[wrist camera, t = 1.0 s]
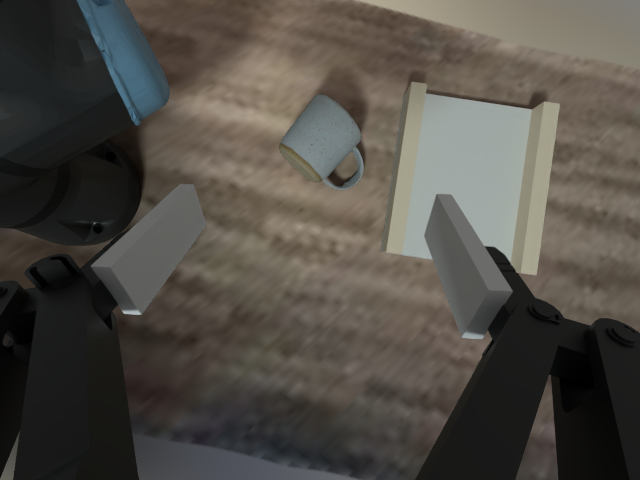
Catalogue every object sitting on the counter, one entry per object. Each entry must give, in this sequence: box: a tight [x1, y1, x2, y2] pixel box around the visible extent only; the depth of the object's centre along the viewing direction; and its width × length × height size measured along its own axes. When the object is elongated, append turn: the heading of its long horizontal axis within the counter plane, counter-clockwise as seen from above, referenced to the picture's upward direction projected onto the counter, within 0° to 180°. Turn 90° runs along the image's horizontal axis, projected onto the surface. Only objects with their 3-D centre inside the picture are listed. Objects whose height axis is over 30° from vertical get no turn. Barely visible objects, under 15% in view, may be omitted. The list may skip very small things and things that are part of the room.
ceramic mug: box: [279, 94, 364, 190], centre depth 34 cm, size 11×8×8 cm
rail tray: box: [381, 82, 560, 275], centre depth 36 cm, size 19×22×3 cm
